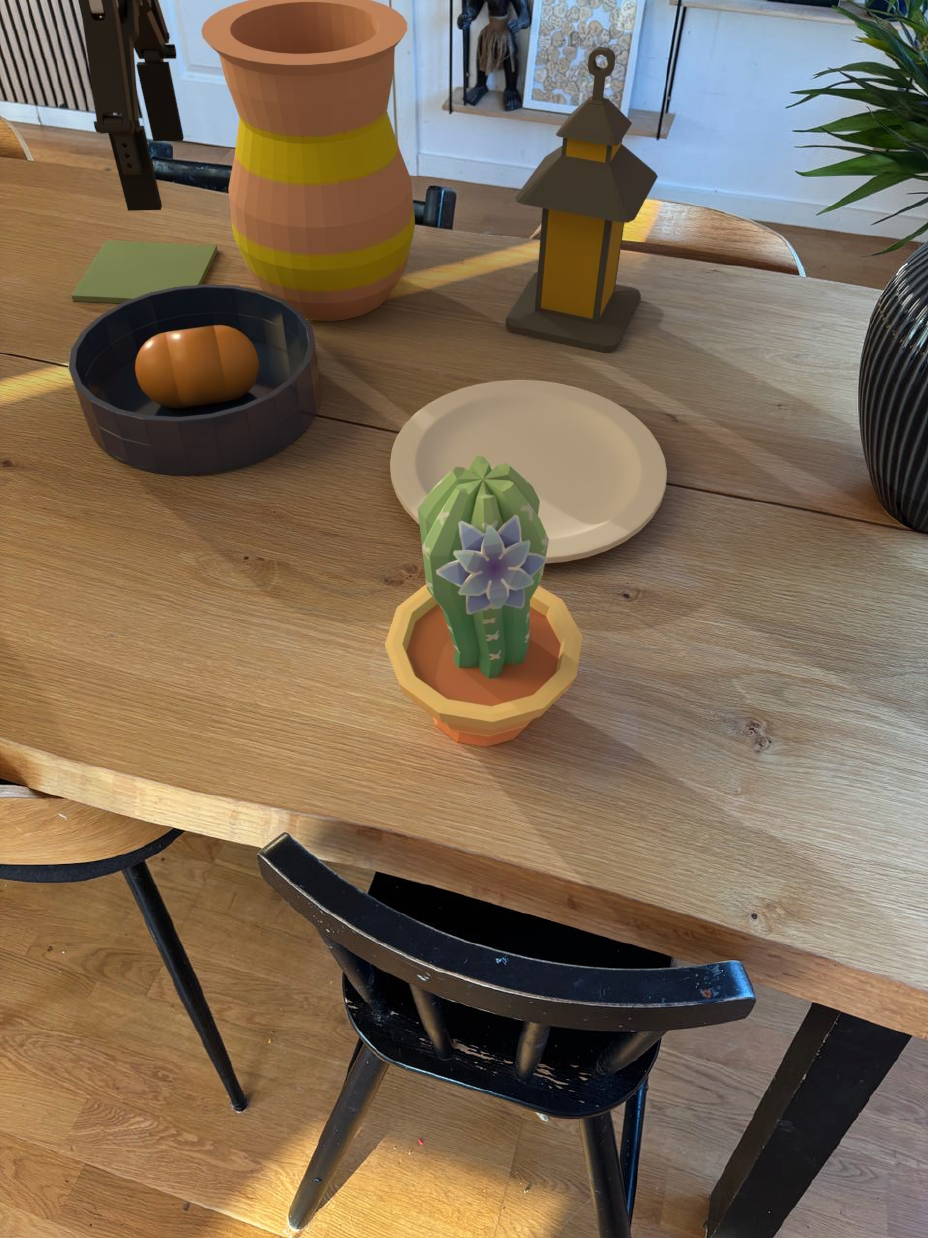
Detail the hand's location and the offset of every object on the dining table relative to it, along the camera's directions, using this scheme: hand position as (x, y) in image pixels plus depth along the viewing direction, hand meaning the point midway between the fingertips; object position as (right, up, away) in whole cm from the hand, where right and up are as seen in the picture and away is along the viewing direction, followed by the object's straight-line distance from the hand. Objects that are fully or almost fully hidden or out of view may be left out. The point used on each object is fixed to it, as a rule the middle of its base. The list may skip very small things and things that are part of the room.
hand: (157, 172), depth 87 cm
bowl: (-2, -15, +22) cm, 27 cm away
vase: (+10, +3, +39) cm, 40 cm away
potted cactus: (+29, -47, -4) cm, 55 cm away
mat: (-14, +5, +40) cm, 43 cm away
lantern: (+41, -2, +36) cm, 54 cm away
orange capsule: (-2, -15, +22) cm, 27 cm away
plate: (+34, -25, +15) cm, 44 cm away
